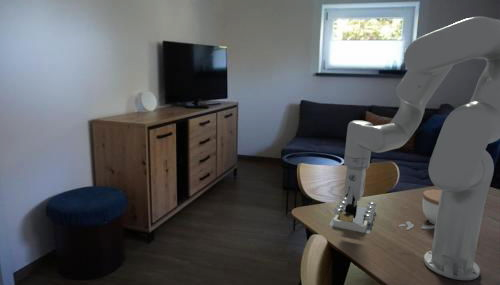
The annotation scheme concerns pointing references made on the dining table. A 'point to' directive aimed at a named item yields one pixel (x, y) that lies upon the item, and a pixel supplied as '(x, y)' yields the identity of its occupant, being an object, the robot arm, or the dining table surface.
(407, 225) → the pliers
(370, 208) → the spacers
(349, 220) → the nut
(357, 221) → the board
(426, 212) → the lidded bowl
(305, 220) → the dining table surface
